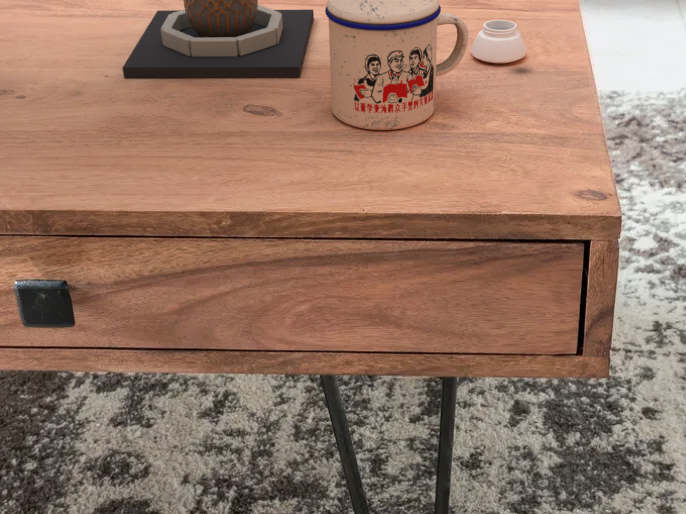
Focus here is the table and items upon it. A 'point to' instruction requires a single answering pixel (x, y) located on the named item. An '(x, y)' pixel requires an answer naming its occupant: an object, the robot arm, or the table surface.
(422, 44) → the teacup with lid
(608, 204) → the table surface
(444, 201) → the table surface
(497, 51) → the white jar
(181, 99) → the table surface
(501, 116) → the table surface
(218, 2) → the vase
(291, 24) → the base pad
